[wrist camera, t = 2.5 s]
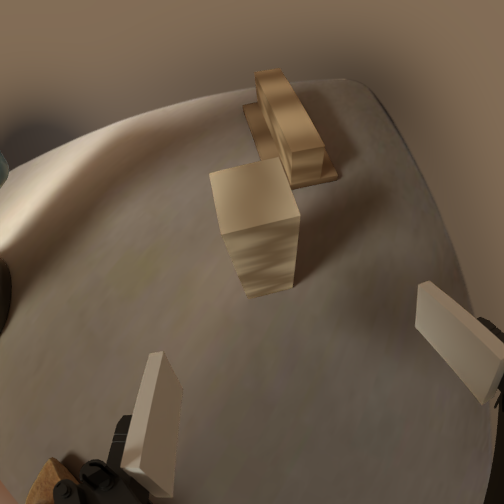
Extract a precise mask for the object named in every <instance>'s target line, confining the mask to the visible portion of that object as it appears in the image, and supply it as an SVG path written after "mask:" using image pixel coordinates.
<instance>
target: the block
mask: <svg viewBox="0 0 504 504" xmlns="http://www.w3.org/2000/svg"><path fill="white" fill-rule="evenodd" d="M209 175H210V180H211V186H212V191H213V196H214V201H215V206H216V211H217V216H218V221H219V226H220V231H221V235H222V238H223V240H224V243H225V245H226V248H227V250H228V253H229V255H230V257H231V260H232V262H233V265H234V267H235V269H236V272H237V274H238V277H239V279H240V281H241V284H242V286H243V289H244V291H245V293H246V296H247V298H248V299H252V298H256V297H260V296H264V295H268V294H272V293H276V292H280V291H284V290H287V289H291V288H293V280H294V272H295V263H296V254H297V245H298V235H299V226H300V213H299V210H298V207H297V204H296V202H295V199H294V196H293V194H292V191H291V188H290V185H289V183H288V180H287V177H286V175H285V172H284V170H283V167H282V164H281V162H280V159H279V157H277V158H272V159H267V160H263V161H258V162H254V163H249V164H245V165H241V166H237V167H233V168H229V169H225V170H221V171H217V172H213V173H209Z"/></svg>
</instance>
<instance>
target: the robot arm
mask: <svg viewBox="0 0 504 504" xmlns="http://www.w3.org/2000/svg"><path fill="white" fill-rule="evenodd" d="M8 174H9V167H8V164H7V162H6V160H5V158H4V156H3V155H2V153H1V151H0V188H1V187H2V186H3V184H4V183H5V182H6V180H7V178H8ZM10 298H11V278H10V272H9V269H8V266H7V264H6V263H5V261H4V260H3V259H1V258H0V333H1V331H2V329H3V326H4V324H5V321H6V318H7V314H8V310H9V305H10ZM415 327H416V329H417V330H418V331H419V332H420V333H421V334H422V335H423V336H424V337H425V338H426V340H427V341H428V342H429V343H430V344H431V345H432V346H433V347H434V349H435V350H436V351H437V352H438V353H439V354H440V355H441V357H442V358H443V359H444V360H445V361H446V362H447V364H448V365H449V366H450V367H451V368H452V369H453V371H454V372H455V373H456V374H457V375H458V377H459V378H460V379H461V380H462V381H463V383H464V384H465V385H466V386H467V387H468V389H469V390H470V391H471V392H472V394H473V395H474V396H475V397H476V399H477V400H478V401H479V402H480V404H481V405H483V404H484V403H486V402H487V401H489V400H490V399H491V398H493V397H494V395H495V392H496V390H497V388H498V389H499V390H500V391H501V393H500V396H499V397H498V399H497V401H496V403H495V406H494V408H496V407H497V405H498V403H499V412H498V425H497V436H496V443H495V451H494V457H493V463H492V469H491V474H490V479H489V483H488V488H487V492H486V496H485V500H484V504H504V333H502V332H501V330H499V329H498V328H496V326H495V325H494V324H492V323H491V322H490V321H489V320H486V319H484V318H482V317H479V318H477V319H476V318H474V317H473V316H472V315H471V314H470V313H469V312H467V311H466V310H465V309H464V308H463V307H461V306H460V305H459V304H458V303H457V302H455V301H454V300H453V299H452V298H451V297H449V296H448V295H447V294H446V293H444V292H443V291H442V290H441V289H439V288H438V287H437V286H436V285H434V284H433V283H432V282H430V281H427V282H424V283H421V284H418V294H417V309H416V321H415ZM182 395H183V388H182V386H181V384H180V382H179V380H178V378H177V377H176V375H175V373H174V371H173V369H172V367H171V365H170V363H169V361H168V359H167V357H166V355H165V353H164V351H162V352H156V353H150V354H149V357H148V361H147V364H146V367H145V371H144V374H143V378H142V381H141V385H140V389H139V392H138V396H137V400H136V403H135V407H134V411H133V415H124V416H123V417H122V418H121V419H120V421H119V422H118V424H117V426H116V430H115V433H114V434H115V435H114V437H113V440H112V441H113V443H112V444H111V448H110V452H109V456H108V460H107V463H104V462H103V461H101V460H91V461H88V462H87V463H85V464H84V465H83V466H82V468H81V470H80V474H79V477H80V481H81V482H83V484H75V483H74V482H73V481H72V480H69V479H62V480H60V481H58V482H57V484H56V485H55V486H54V489H53V499H54V504H153V503H152V502H151V501H150V500H149V499H148V498H149V492H150V493H151V494H152V495H153V496H155V497H163V498H173V489H174V475H175V463H176V452H177V441H178V431H179V421H180V412H181V403H182Z"/></svg>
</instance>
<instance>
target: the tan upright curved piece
mask: <svg viewBox="0 0 504 504" xmlns="http://www.w3.org/2000/svg"><path fill="white" fill-rule="evenodd" d="M62 479H69V480H72V481H73V482H74V483H75V484H80V483H79V482H78V481H77V480H76V479H75V477H74V476H73V475H72V474H71V473H70V472H69V471H68V469H67V468H65V467H64V466H63V465H62V464H61V463H60V462H59V461H58V460H57V459H55V458H53V457H52V458H50V459H49V460H48V461H47V462H46V464H45V465H44V467H43V468H42V470H41V471H40V473H39V475H38V477H37V479H36V480H35V482H34V484H33V485H32V487H31V489H30V491H29V494H28V496H27V499H26V504H54V499H53V489H54V486H55V485H56V484H57V482H58V481H60V480H62Z"/></svg>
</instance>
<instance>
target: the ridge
mask: <svg viewBox="0 0 504 504" xmlns="http://www.w3.org/2000/svg"><path fill="white" fill-rule="evenodd" d="M254 73H255V82H256V91H257V100H258V102H256V103H251V104H247V105H243V111H244V114H245V116H246V119H247V122H248V125H249V128H250V131H251V133H252V136H253V139H254V142H255V145H256V148H257V151H258V154H259V157H260V160H261V161H263V160H267V159H272V158H277V157H279V159H280V162H281V164H282V167H283V170H284V172H285V175H286V177H287V180H288V183H289V185H290V188H291V190H294V189H298V188H303V187H307V186H312V185H317V184H321V183H326V182H331V181H336V180H337V178H338V174H337V172H336V170H335V168H334V166H333V164H332V162H331V160H330V158H329V156H328V154H327V152H326V150H325V145H324V143H323V141H322V139H321V138H320V136H319V134H318V132H317V130H316V128H315V127H314V125H313V123H312V121H311V119H310V118H309V116H308V114H307V112H306V111H305V109H304V107H303V105H302V104H301V102H300V100H299V99H298V97H297V95H296V94H295V92H294V90H293V89H292V87H291V85H290V84H289V82H288V81H287V79H286V77H285V76H284V74H283V73H282V71H281V70H280V68H277V69H270V70H264V71H259V72H254Z"/></svg>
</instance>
